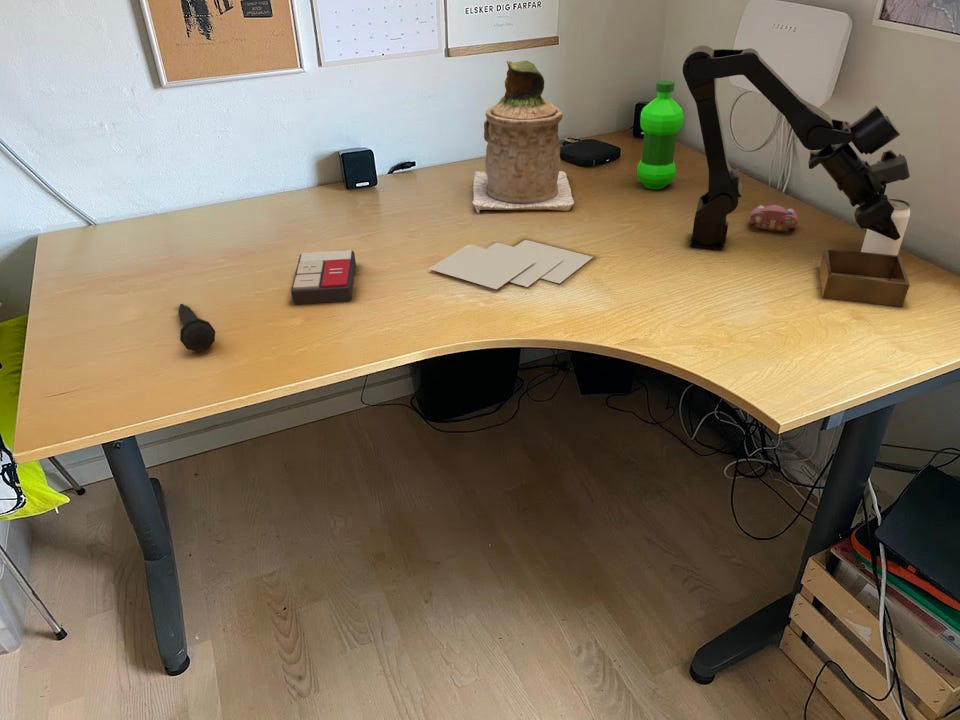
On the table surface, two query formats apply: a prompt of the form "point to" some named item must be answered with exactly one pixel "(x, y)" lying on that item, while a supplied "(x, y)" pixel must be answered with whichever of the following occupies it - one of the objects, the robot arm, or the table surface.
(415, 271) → the table surface
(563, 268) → the paper stack
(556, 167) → the cookie jar
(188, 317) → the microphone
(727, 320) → the table surface
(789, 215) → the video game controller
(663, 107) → the plastic bottle
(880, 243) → the can
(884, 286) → the tray
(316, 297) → the calculator
